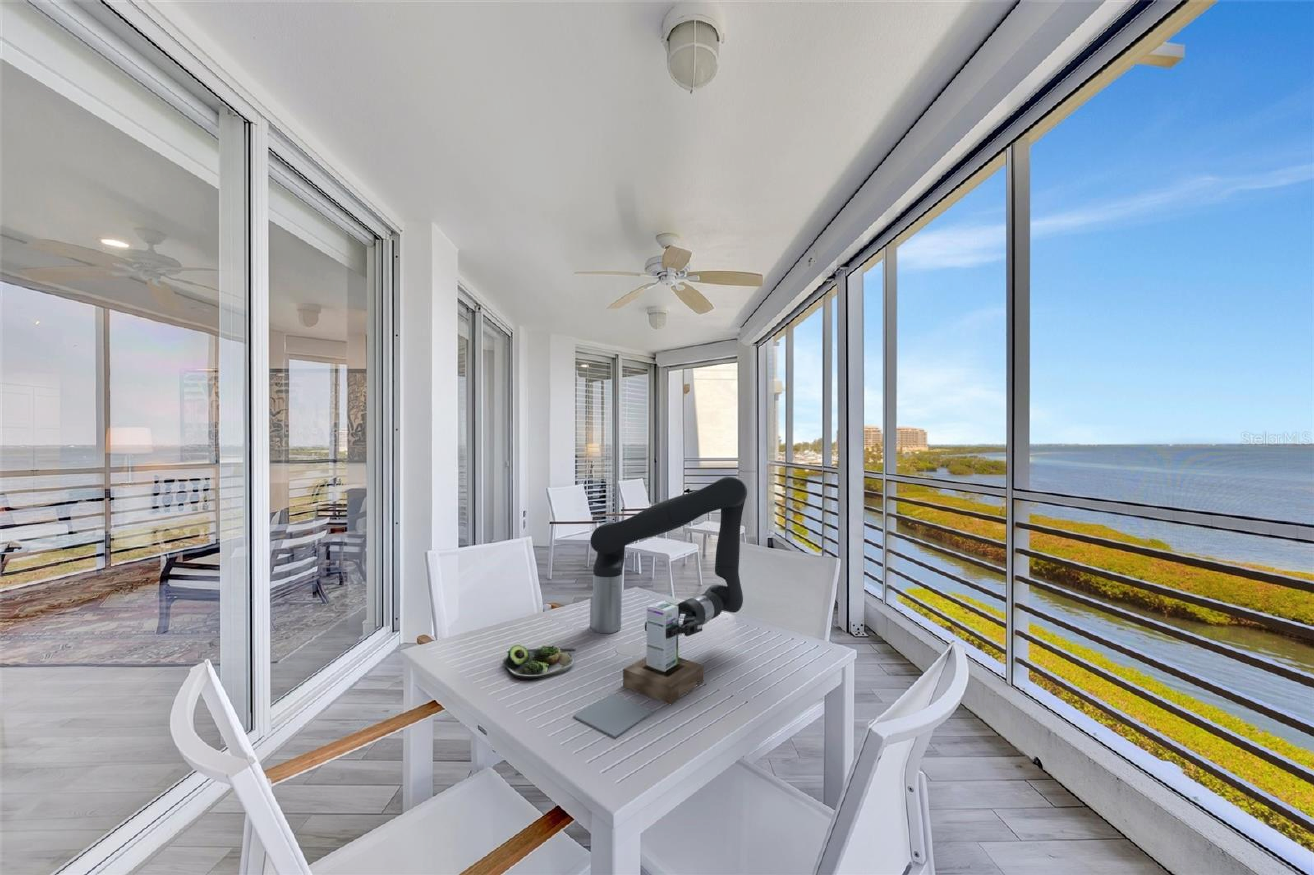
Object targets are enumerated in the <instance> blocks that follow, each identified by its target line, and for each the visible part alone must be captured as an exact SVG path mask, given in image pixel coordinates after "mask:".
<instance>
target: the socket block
mask: <svg viewBox="0 0 1314 875" xmlns="http://www.w3.org/2000/svg"><path fill="white" fill-rule="evenodd" d="M704 668H705V666H704V665H703V664H700V663H697V662H694V661H691V660H689V659H685V658H682V657H679V656H678V664H677V665H675V666H673V667H671V668H670V669H668V670H666V671H665V672H663V671H660V670H657V669H654V668H652V667H650V666H647V664H646V656H645V657H643V658H641V659H639V660H637V661H636V662H634V663H632V664H629V665H628V666H626V667H624V668H622V671H623V672H622V686H623V687H626V688H628V689H630V690H632V691H635V692H637V693H640V694H641V695H643V696H648V697H650V698H653V699H655V700H657V699H658V700H657V701H659V702H661V701H662V703H664V704H666V703H667V704H666V705H669V704H671V705H673V703H675V702H677V701H678V700H680V699H682V697H681V696H682V695H684V694H685V695H687V694H688V693H689V692H688V691H690V690H691V689H693V688H694V687H695V686H696V685H698V686H700V685H701V684H702V683H701V682H702V681H703V682H704V673H705V672H704ZM668 676H669V677H668ZM700 683H701V684H700ZM699 684H700V685H699ZM695 688H696V687H695ZM695 688H694V689H695ZM694 689H693V690H694ZM691 691H692V690H691ZM691 691H690V692H691ZM687 692H688V693H687ZM686 693H687V694H686ZM685 695H684V696H685ZM679 698H680V699H679ZM677 699H678V700H677ZM676 700H677V701H676Z"/></svg>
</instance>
